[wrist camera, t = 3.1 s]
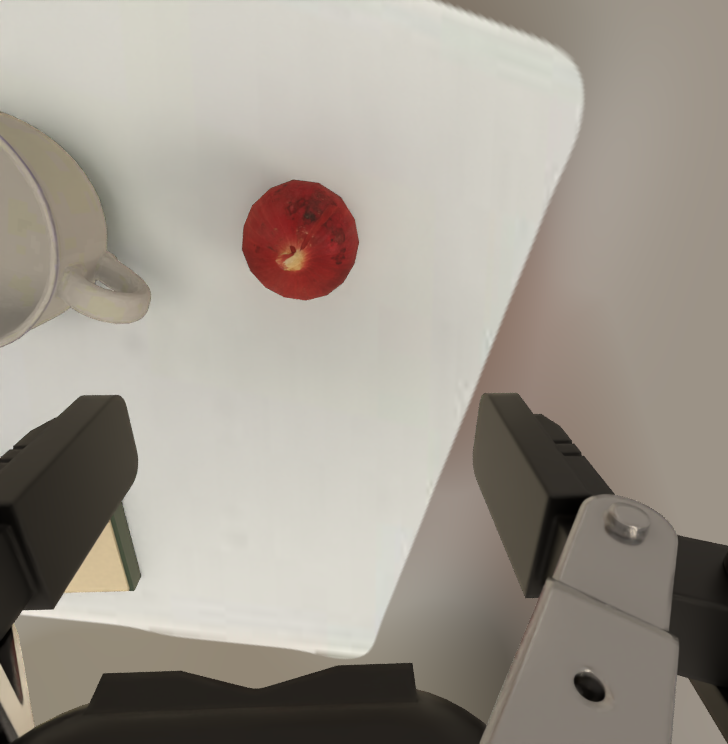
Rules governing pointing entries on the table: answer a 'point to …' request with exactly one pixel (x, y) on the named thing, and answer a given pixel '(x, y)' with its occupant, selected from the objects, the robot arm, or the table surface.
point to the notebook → (109, 561)
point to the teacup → (55, 240)
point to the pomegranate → (300, 240)
